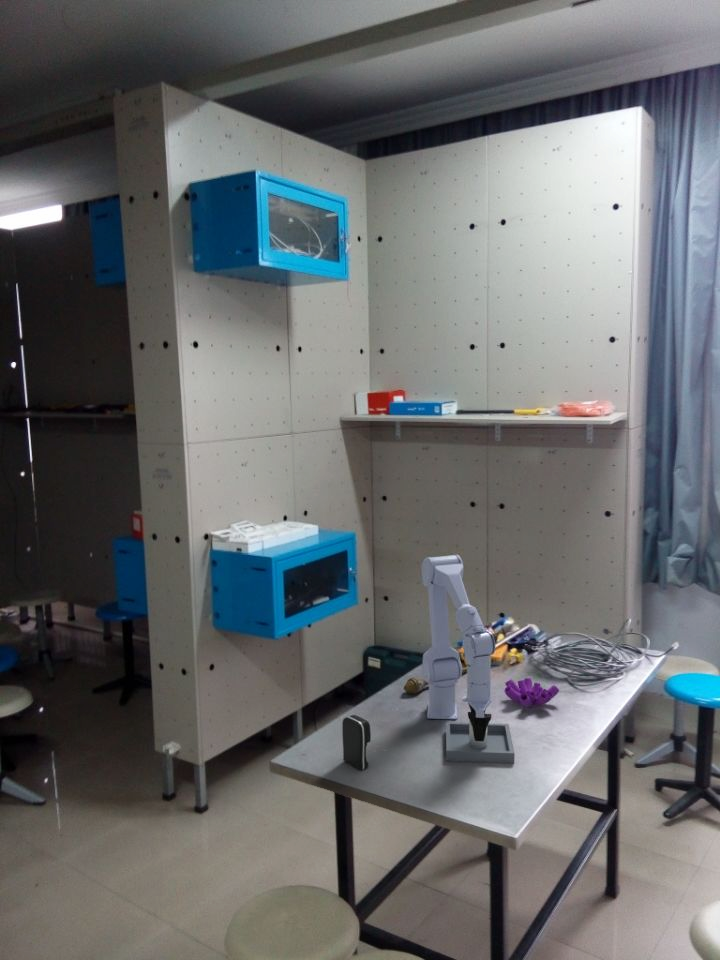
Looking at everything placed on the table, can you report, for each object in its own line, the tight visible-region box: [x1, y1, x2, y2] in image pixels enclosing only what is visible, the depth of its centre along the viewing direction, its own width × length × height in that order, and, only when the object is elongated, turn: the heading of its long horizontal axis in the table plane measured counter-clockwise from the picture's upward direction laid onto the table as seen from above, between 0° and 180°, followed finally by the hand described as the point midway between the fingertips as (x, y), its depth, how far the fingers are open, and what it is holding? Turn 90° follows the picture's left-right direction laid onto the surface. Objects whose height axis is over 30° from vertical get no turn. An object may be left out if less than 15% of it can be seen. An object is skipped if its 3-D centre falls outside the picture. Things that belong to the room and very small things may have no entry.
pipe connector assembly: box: [503, 677, 560, 708], centre depth 213 cm, size 11×15×10 cm
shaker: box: [468, 720, 487, 749], centre depth 188 cm, size 4×4×6 cm
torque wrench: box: [403, 666, 467, 695], centre depth 232 cm, size 5×35×5 cm
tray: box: [445, 721, 515, 764], centre depth 188 cm, size 16×16×2 cm
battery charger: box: [341, 714, 372, 771], centre depth 180 cm, size 7×4×11 cm, turn 41°
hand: (478, 733), depth 188 cm, fingers open, 7 cm apart
